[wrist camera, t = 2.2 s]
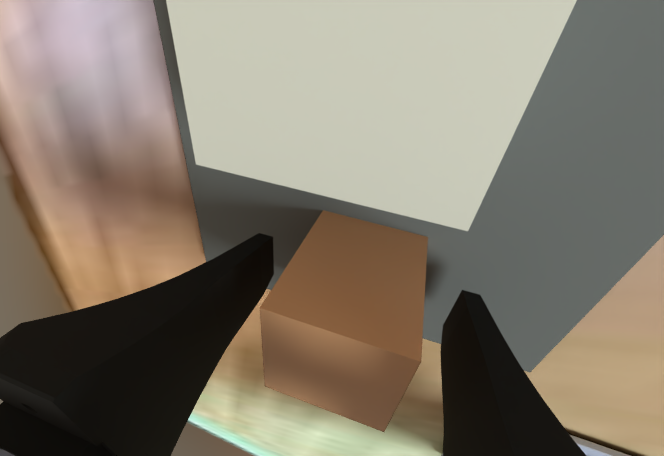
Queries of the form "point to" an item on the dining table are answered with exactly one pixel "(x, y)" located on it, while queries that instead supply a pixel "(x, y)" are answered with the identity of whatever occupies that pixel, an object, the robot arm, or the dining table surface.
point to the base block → (364, 94)
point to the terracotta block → (347, 319)
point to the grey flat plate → (508, 187)
